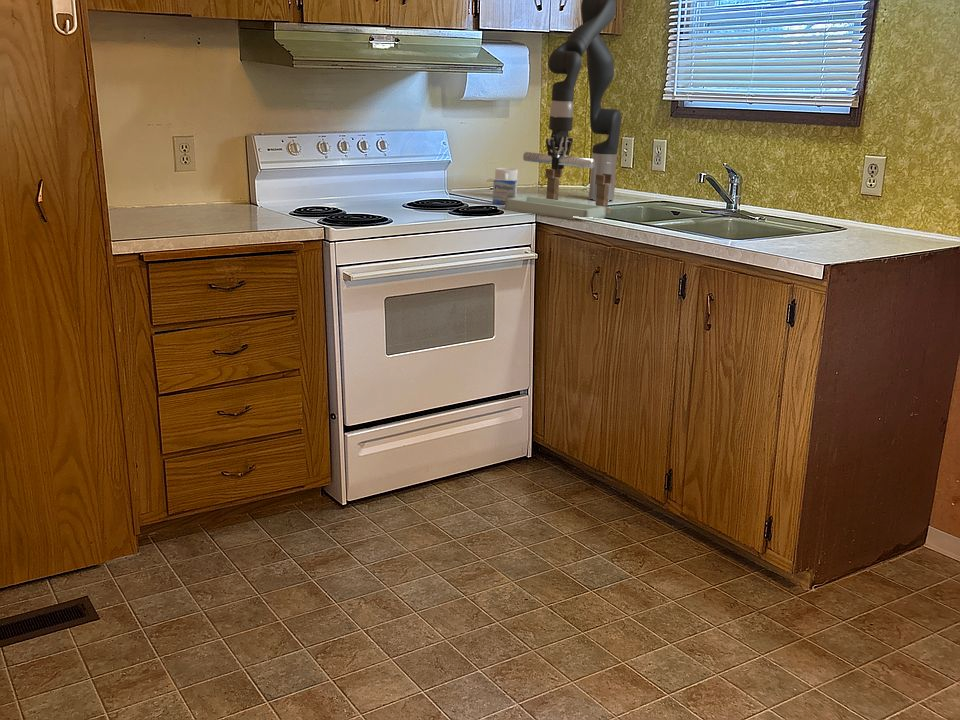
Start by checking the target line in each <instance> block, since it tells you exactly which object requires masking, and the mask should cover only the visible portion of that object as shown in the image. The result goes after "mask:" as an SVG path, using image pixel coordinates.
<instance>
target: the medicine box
mask: <svg viewBox="0 0 960 720" xmlns="http://www.w3.org/2000/svg"><path fill="white" fill-rule="evenodd" d="M516 183H517V184H518V179H517V180H504V179H495V178H494V179H493V184H492V185H493V187H492V188H493V189H492V190H493V191H492V202H491V203H492V204H491V205H493V206H505V199H508V198H515V197H517V194H516Z"/></svg>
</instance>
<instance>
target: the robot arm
mask: <svg viewBox="0 0 960 720" xmlns="http://www.w3.org/2000/svg"><path fill="white" fill-rule="evenodd" d="M580 7H581V8H580V11H581V12H580V13H581V21H582V24H580V25H579V26H577V27H576V28H575V29H574V30H573V31H572V32H571V33H570V35H569V36H568V38H567V39H566V41H564V42H563V43H562V44H560V45H559V46H557V48H555V49H554V50H552V52H551V54H550V56H549V58H548V63H547V65H548V69H549V70H550V71H551V73H553V74H558V75H566V77H565V79H564V80H561V81H556V82H554V83H553V84H552V88H551V89H552V90H551V104H550V110H549V124H548V129H549V130H550V131H551V134H550V137H549V138H546V139H545V145H546V149H547V154H548V156H551V157H552V164H551V169H554V170H557V169H562V170H564V168H565V165H559V155H560V156H569V155H570V152H571V148H572V145H573V142H574V138H573V137H570V136H569V132H571V131H572V130H573V119H574V95H575V86H576V83H577V79H578V77H579V74H580V72H581V68H582V63H583V62H582V57H583V55H584V53H586V67H587V79H588V86H589V125H590V130H591V131H592V133H593V134H596V135H605V136H607V135H608V136H607V139H606V140H604V141H602V142H599V143H596V144H594V145H593V146H592V149H591V150H592V152H591V159H594V161H595V165H594V167H593V168H590V175H589V176H590V177H589V178H590V179H589V188H588V189H589V192H588V199H589V200H590V199H593V200H592V201H596V194H597V184H595V180H596V175H603V174H612V183H611V184H609V183H607V184H609V195H608V200H613V201H614V199H615V188H616V187H615V186H616V177H617V176H616V175H617V174H616V169H617V158H618V157H617V156H618V148H619V143H620V133H621V126H622V113H621V111H620V110H619V109H616V108H615V109H614V108H602V104H601V103H602V98H603V96H604V94H605V93H606V91H607V89H608V88H609V87H610V85H611V84H612V81H613V79H614V76H615V70H614V67H615V66H614V65H615V64H614V57H613V54H612V51H611V50H610V49H609V47H608V45H606V43H605V42H604V40H603V39H602V37H601V35H600V33H602V32H603V31H604V30H605V29H606V28H607V27H608V26H609V25H610V24H611V23H612V21H613V19H614V18H615V16H616V13H617V1H616V0H581V5H580ZM613 198H614V199H613Z"/></svg>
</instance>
